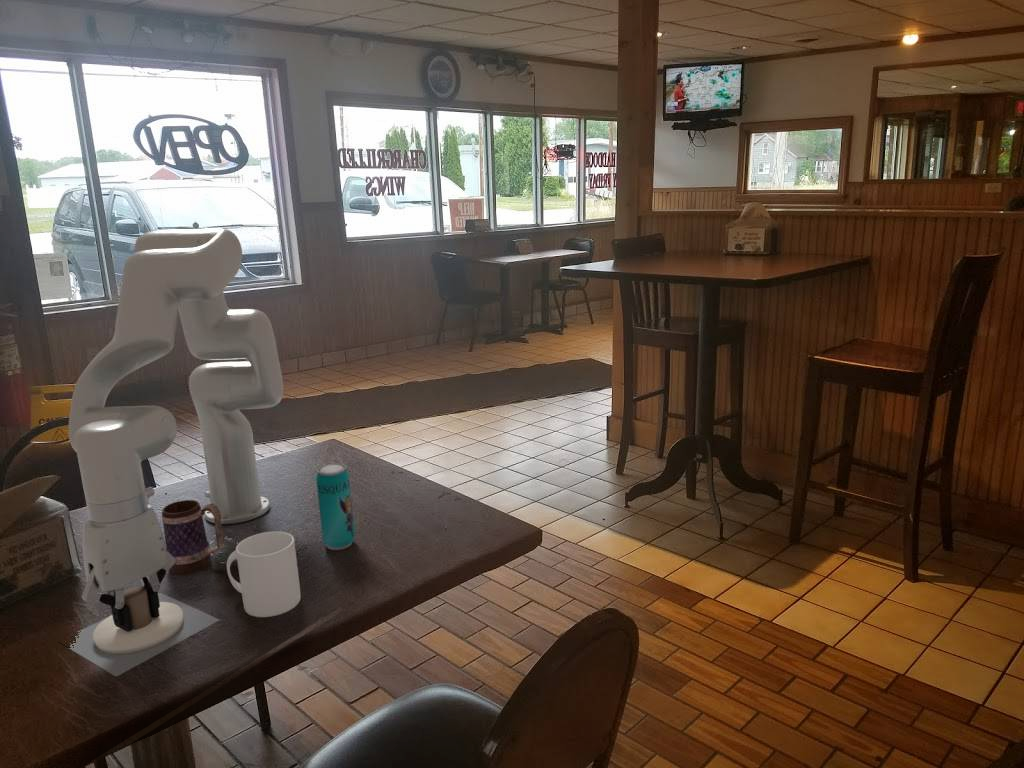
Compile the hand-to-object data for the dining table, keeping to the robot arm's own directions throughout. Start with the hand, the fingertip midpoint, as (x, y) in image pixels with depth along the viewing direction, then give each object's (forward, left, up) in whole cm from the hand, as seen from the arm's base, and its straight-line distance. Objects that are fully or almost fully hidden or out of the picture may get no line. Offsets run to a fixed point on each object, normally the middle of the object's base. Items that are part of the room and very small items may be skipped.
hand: (138, 620), depth 110 cm
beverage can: (+4, +36, -2) cm, 36 cm away
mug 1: (-11, +17, -2) cm, 20 cm away
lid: (0, 0, -2) cm, 2 cm away
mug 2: (+9, +15, -2) cm, 18 cm away
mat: (0, 0, -2) cm, 2 cm away
